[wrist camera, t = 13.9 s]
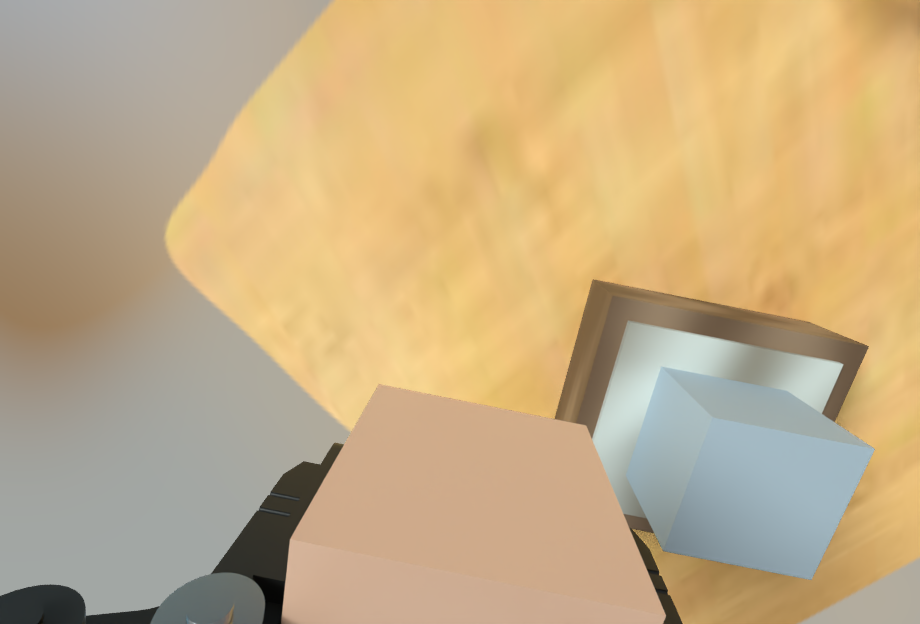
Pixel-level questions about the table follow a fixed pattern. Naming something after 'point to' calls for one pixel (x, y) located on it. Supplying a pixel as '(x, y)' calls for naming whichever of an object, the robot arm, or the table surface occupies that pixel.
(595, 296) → the plinth
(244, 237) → the table surface
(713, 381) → the block blue
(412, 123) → the table surface
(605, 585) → the cube terracotta
